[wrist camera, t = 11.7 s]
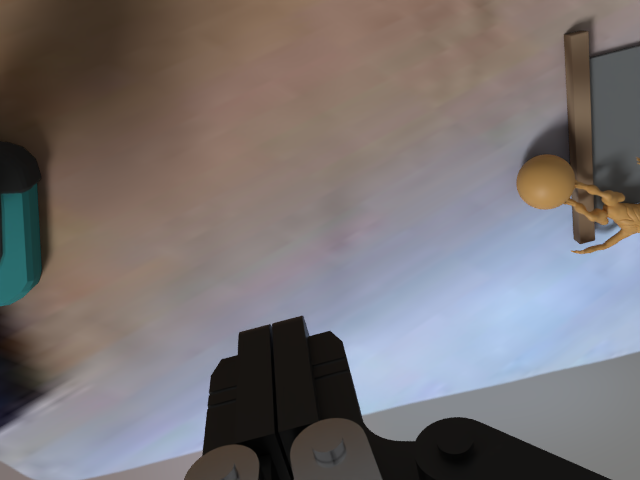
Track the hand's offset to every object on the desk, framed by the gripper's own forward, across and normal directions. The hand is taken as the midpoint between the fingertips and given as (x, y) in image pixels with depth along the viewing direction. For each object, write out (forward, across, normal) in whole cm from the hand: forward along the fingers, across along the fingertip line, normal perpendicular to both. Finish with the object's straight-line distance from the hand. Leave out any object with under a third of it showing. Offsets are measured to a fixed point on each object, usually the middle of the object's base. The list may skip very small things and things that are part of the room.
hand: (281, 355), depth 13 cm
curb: (+29, -22, +8) cm, 37 cm away
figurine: (+28, -17, +8) cm, 34 cm away
